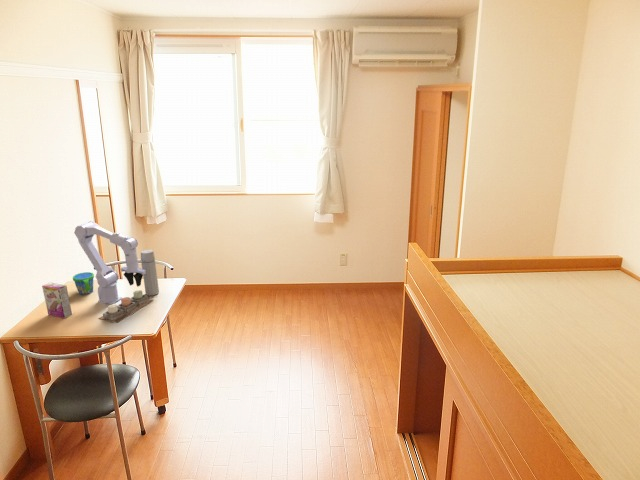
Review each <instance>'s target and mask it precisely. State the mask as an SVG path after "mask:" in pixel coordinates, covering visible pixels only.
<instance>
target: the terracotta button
mask: <svg viewBox="0 0 640 480" xmlns="http://www.w3.org/2000/svg"><path fill="white" fill-rule="evenodd" d="M130 298H131V297H129V296H128V297H127V296H126V297H122V299H120V301H121V303H120V304H122V306H123V307H128V306H130V305H131V301H130Z"/></svg>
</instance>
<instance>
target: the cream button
mask: <svg viewBox="0 0 640 480" xmlns="http://www.w3.org/2000/svg"><path fill="white" fill-rule="evenodd" d="M117 305H118V304H116V303H113V304H109V305H108V306H107V311H108V313H109V314H111V315H114V314H116V313H118V307H117Z"/></svg>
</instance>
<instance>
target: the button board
mask: <svg viewBox="0 0 640 480" xmlns="http://www.w3.org/2000/svg"><path fill="white" fill-rule="evenodd" d="M129 298H130V301H131V305H130V306H128V307H123V306H122V304H121V303H119V304H116V305H117V307H118V313H116V314H114V315H111V314H109V313H108V310H107V311H105V312H104V313H102V315H101V316H99V317H98V320H101V321H106V322H107V321H108V322H112V323H116V324H117V323H120V322H122V321H123V320H125V319H126V318H128V317H129V316H131V315H132V314H134V313H136V312H138V311H139V310H141V309H142V308H144V307H146V306H148V305H149V304H151V303H153V302H154V300H153V299H149V295H147V294H146V295H145V294H143V298H142V299H140V300H136V299H134V295H133V296H132V297H129Z"/></svg>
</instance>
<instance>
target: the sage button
mask: <svg viewBox="0 0 640 480" xmlns="http://www.w3.org/2000/svg"><path fill="white" fill-rule="evenodd" d="M143 295H144V294H143V290H134V291H133V296H134V299H136V300H140V299H142V298H143Z"/></svg>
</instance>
